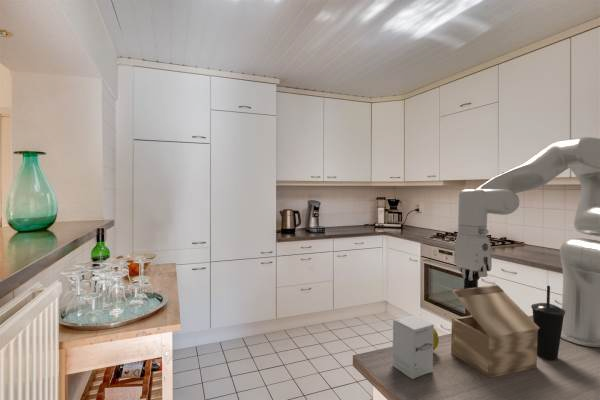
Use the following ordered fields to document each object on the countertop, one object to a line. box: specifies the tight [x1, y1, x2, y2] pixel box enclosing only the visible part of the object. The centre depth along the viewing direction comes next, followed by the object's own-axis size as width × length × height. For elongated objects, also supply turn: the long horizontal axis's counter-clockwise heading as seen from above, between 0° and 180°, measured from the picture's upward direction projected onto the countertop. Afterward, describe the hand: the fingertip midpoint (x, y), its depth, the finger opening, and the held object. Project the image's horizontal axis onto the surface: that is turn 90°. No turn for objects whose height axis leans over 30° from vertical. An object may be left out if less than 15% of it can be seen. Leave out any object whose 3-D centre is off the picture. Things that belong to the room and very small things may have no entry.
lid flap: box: [451, 284, 540, 338], centre depth 89 cm, size 17×15×1 cm
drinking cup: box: [530, 285, 565, 361], centre depth 91 cm, size 8×8×20 cm
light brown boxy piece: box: [450, 314, 538, 379], centre depth 89 cm, size 16×13×10 cm
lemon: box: [433, 328, 440, 351], centre depth 93 cm, size 6×6×8 cm
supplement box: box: [391, 315, 435, 380], centre depth 84 cm, size 7×7×13 cm
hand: (470, 292), depth 96 cm, fingers closed
